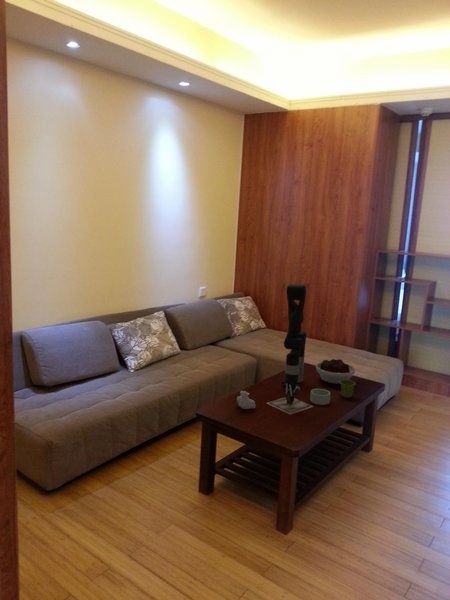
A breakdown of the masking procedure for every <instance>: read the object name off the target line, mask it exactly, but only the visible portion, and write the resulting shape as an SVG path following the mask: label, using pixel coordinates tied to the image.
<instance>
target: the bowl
mask: <svg viewBox="0 0 450 600" xmlns="http://www.w3.org/2000/svg"><path fill="white" fill-rule="evenodd" d="M309 396H310V397H309V401H310V402H311V403H312V404H314V405H318V406H325V405H326V406H327V405H329V404H330V403H331V392H330V391H329V390H327V389H324V388H314V389H311V390H310V395H309Z"/></svg>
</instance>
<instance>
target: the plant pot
mask: <svg viewBox="0 0 450 600" xmlns="http://www.w3.org/2000/svg"><path fill="white" fill-rule="evenodd" d="M339 385H340V394H341V397H343V398H346V399H347V398H352V397H353V393H354V387H355V385H356V381H353V380H350V379H349V380H341V381H340V384H339Z"/></svg>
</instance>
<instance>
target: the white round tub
mask: <svg viewBox="0 0 450 600" xmlns="http://www.w3.org/2000/svg"><path fill="white" fill-rule="evenodd" d="M315 369H316V371H317V373H318V374H319V376H320V379H321V380H323V381H324V382H326V383H329V384H333V385H334V384H337V385H338V384H339V385H340V381H341V380H350V379H351V378H352V377H353V376H354V374H355V373H356V369H355V367H354V366H352V365H350V364H349V363H346V362H344V360H343V359H341V358H339V359H335V358H332V359H330V360H328V359H325V360H322V361H321V362H318V363H316V366H315Z"/></svg>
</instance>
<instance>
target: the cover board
mask: <svg viewBox="0 0 450 600" xmlns="http://www.w3.org/2000/svg"><path fill="white" fill-rule="evenodd" d="M290 396H291V392H290V393H287V400H286V396H285V397H281V398H278V399H275V400H272V401H269V402H270V404H272V405H274V406H276V407H279V408H281V409H283V410H285V411H287V412H289V413H291V412H294V411H297V410H300V409H303V408H306V407H309V406H310V405H311V404H309V403H306V402H304V401H302V400H299V399H297V398H295V397H294V401H293V402H290Z"/></svg>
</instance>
